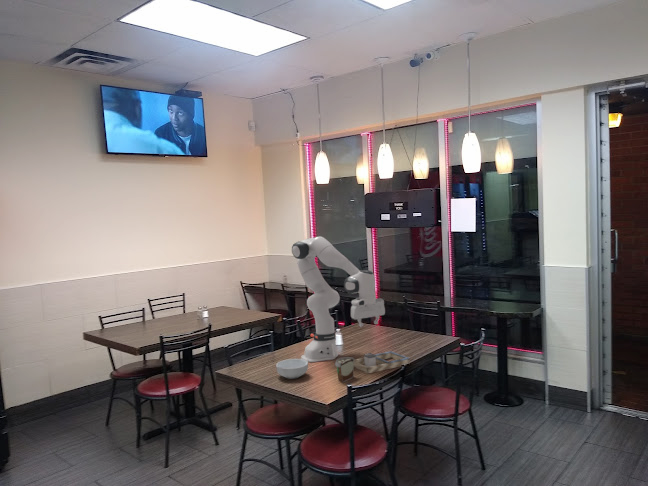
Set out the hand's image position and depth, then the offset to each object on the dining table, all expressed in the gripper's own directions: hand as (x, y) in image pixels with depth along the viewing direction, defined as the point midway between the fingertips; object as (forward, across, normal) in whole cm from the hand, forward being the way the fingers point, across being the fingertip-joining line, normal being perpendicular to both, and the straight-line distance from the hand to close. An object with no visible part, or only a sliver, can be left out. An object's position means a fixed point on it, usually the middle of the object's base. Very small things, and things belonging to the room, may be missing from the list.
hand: (368, 325), depth 263 cm
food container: (+23, +22, +8) cm, 33 cm away
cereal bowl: (+23, +42, -11) cm, 49 cm away
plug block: (+23, 0, 0) cm, 23 cm away
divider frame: (+23, -6, 0) cm, 24 cm away
